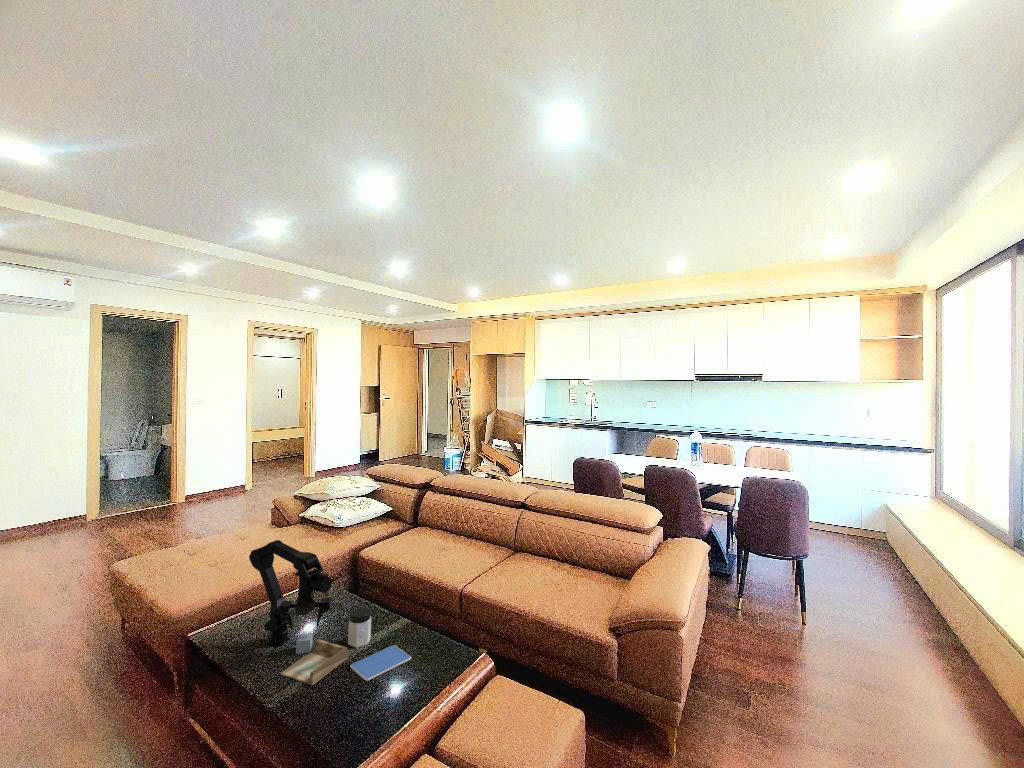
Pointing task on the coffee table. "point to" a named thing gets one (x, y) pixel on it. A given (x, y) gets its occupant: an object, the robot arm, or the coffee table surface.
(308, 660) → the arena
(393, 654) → the tablet computer
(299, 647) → the cube
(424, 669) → the coffee table surface
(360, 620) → the jar
